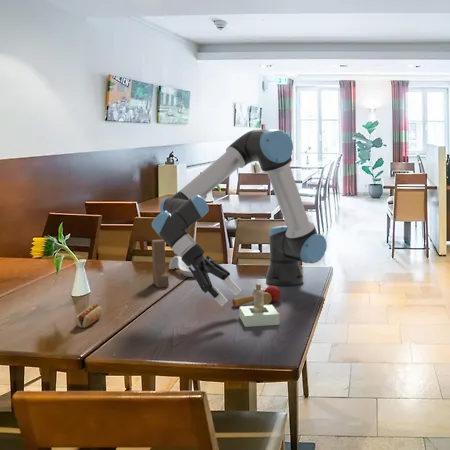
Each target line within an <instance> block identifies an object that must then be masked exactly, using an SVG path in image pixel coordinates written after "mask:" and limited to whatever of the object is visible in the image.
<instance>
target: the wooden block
mask: <svg viewBox="0 0 450 450" xmlns="http://www.w3.org/2000/svg"><path fill="white" fill-rule="evenodd" d="M151 257H152V259H151V260H152V261H151V262H152V283H153V284H154V285H155V287H156V288H159V289H160V288H168V287H169V284H170V283H169V282H170V281H169V275H168V274H167V270H166V269H167V268H166V242H165V241H164V240H163V239H162V238H161V239H152V240H151Z"/></svg>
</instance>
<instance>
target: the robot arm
mask: <svg viewBox="0 0 450 450" xmlns="http://www.w3.org/2000/svg"><path fill="white" fill-rule="evenodd" d="M291 138H292V137H290V135H289V134H288V133H286V132H285V131H283V130H282V129H275V128H269V129H253V130H250V131H247V132H245V133H244V134H243V135H241V136H240V137H238V138H237V139H236V140H235V141H233V142H231V144H230V145H229V146H227V147H226V149H225V152H224V153H223V154H222V155H221V156H220V157H218V158H217V159H216V160H215V161H214V162H213V163H211V164H210V165H209V166H208V167H206V168H205V169H204V170H203V171H202V172H200V173H199V174H198V175H197V176H195V177H194V178H193V179H192V180H191V181H189V182H188V183H187V184H186V185H184V186H183V187H182V188H181V189H180V190H179V191H177V193H175V194H173V196H168V197H167V196H166V197H165V198H163V199H162V200H161V201H160V203H159V212H160V213H159V214H158V215H156V216H155V218H154V219H153V220H152V222H151V227H152V229H153V230H154V231H155V233H156V234H157V235H158V236H159V237H160V238H161V239H162V240H163V241H165V244H167V245H168V247H170V249H171V250H172V251H173V253H174V254H175V255H176V256H179V257H182V258H181V260H182V261H183V262H184V263H185V264H186V265H187V266H190V267H189V270H190V271H191V272H192V274H193V275H194V277H193V278H195V281H196V282H197V284H198V286H199V288H200V289H201V291H203V293H205V294H207V293H208V294H210V295H211V297H212V298H213V299H214V300H215V301H216V302H217V303H218V304H219V305H220V307H223V306H225V304H227V302H228V301H229V300H228V298H226V297H225V296H224V294H223V293H222V292H221V291H220V290H219V289H218V287H216V286H215V285H213V284H212V281H211V278H210V276H209V274H211V275H213V276H215V277H216V278H218V279H220V280H222V283H223V284H224V285H225V286H226V287H227V288H228V289H229V290H230V291H231V292H232V293H233V295H234V296H238V294H240V293H241V291H242V289H241V288H240V287H239V286H238V285H237V283H236V282H235V281H234V280H233V279H232V278H231V277H230V275H231V272H229V271H228V270H227V269H226V268H225V267H223V266H221V265H220V264H219V263H217V262H216V261H215V260H214V259H213V258H211V256H209V255H206V256H205V257H204V256H203V255H204V253H205V250H204V248H202V247H201V246H200V245H199V244H197V242H196V240H195V239H194V238H193V237H192V236H191V235H190V234H189V232H188V231H187V230H189V228H190V227H192V226H194V225H195V224H196V223H197V222H198V221H200V220H201V219H203V218H204V217H205V216H206V214H208V213H209V211H210V208H209V205H208V203H207V201H206V200H205V197H206V196H207V195H208V194H210V193H211V192H213V190H215V188H216V187H218V186H219V185H220V184H222V183H223V182H224V181H225V180H226V179H227V178H228V177H229V176H231V175H232V174H233V173H235V172H236V171H237V170H238V169H243V168H245V166H247V165H248V164H251V163H253V162H258V163H259V166H260V169H261V171H262V172H264V173H266V174H267V177H268V180H269V181H270V184H271V187H272V191H273V192H274V196H275V198H276V201H277V204H278V206H279V209H280V212H281V215H282V218H283V221H284V222H285V225H279V226H273V227H271V228H270V229H269V230H270V231H269V236H268V237H269V265H268V268H267V271H266V275H265V282H266V283H267V284H268V285H270V286H278V287H289V286H290V287H291V286H297V285H301V284H303V282H304V275H303V272H302V269H301V266H300V263H299V262H301V263H304V264H316V263H318V262H320V261H321V260H322V258H323V257H324V256H325V253H326V251H327V240H326V238H325V236H324V235H322V234H321V233H318V231H317V229H316V226H315V224H314V223H313V222H311V221H310V220H309V218H308V214H307V212H306V209H305V206H304V203H303V200H302V197H301V195H300V191H299V189H298V186H297V184H296V180H295V178H294V175H293V172H292V169H291V166H290V165H291V163H292V160H293V159H292V157H291V156H292V155H293V151H294V144H293V140H292V139H291Z"/></svg>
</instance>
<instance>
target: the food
mask: <svg viewBox="0 0 450 450" xmlns="http://www.w3.org/2000/svg"><path fill="white" fill-rule="evenodd" d="M102 312H103V309H102V307H101V306H100V305H99V304H96V303H94V304H93V305H90V306H89V307H87V308H85V309H84V310H83V311H82V312H81V313H79V314H78V315H76V317H75V324H76V325H77V326H78V328H84V329H85V328H87V327H90V325H92V324H94V323H95V322H96V321H97V320H99V319H100V318H101V316H102Z"/></svg>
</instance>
